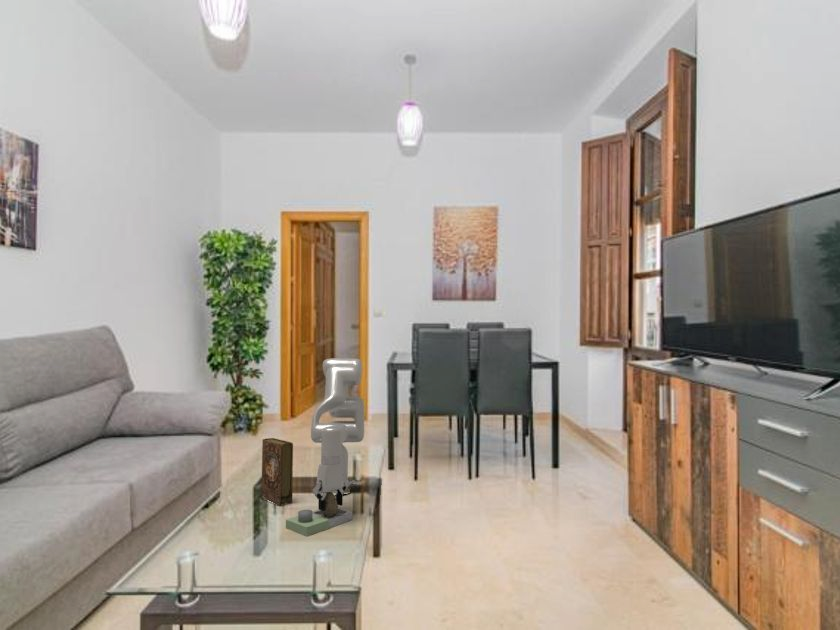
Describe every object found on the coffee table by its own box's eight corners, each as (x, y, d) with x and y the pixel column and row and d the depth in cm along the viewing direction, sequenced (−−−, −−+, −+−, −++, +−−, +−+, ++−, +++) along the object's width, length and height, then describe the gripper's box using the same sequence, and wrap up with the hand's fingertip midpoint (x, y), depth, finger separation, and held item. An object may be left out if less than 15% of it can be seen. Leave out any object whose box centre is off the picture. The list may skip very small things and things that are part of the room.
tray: (332, 513, 201) (332, 505, 201) (352, 520, 193) (352, 511, 193) (308, 521, 192) (308, 512, 192) (328, 528, 185) (328, 519, 185)
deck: (308, 520, 192) (308, 504, 192) (329, 528, 184) (329, 511, 185) (285, 528, 184) (285, 511, 185) (306, 536, 177) (306, 518, 177)
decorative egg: (324, 522, 189) (323, 495, 189) (320, 517, 194) (319, 490, 194) (340, 519, 191) (339, 492, 192) (335, 514, 197) (334, 488, 197)
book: (259, 498, 220) (260, 439, 221) (271, 495, 224) (272, 437, 225) (280, 506, 208) (281, 444, 210) (292, 503, 212) (293, 442, 214)
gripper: (342, 454, 203) (341, 500, 202) (306, 462, 190) (305, 511, 189) (355, 457, 198) (354, 504, 197) (319, 465, 185) (318, 515, 184)
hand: (330, 507), depth 193 cm, fingers open, 7 cm apart
